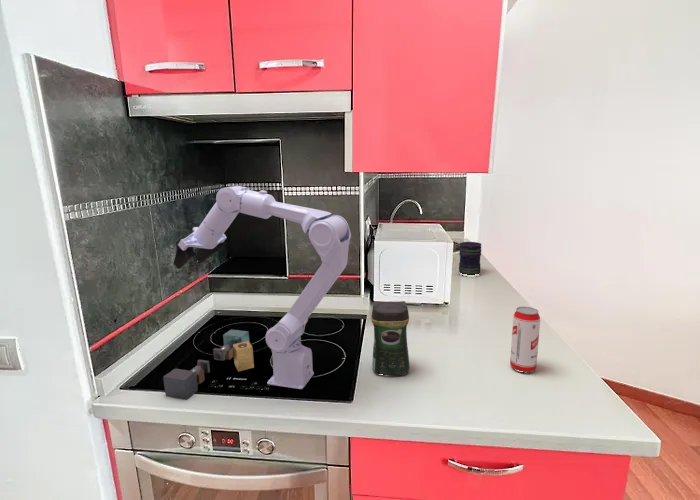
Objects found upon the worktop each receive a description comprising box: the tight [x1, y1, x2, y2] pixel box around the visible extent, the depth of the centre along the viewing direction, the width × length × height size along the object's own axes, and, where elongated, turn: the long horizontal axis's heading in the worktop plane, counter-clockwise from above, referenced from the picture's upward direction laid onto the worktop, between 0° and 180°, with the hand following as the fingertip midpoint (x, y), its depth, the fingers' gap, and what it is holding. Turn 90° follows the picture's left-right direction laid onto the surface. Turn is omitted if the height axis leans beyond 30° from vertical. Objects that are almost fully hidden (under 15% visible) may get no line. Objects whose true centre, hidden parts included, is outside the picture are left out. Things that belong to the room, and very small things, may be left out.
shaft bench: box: [162, 329, 250, 401], centre depth 106 cm, size 6×28×5 cm, turn 163°
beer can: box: [509, 306, 541, 373], centre depth 102 cm, size 6×6×16 cm
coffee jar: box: [370, 300, 410, 376], centre depth 102 cm, size 10×8×19 cm
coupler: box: [233, 340, 255, 372], centre depth 107 cm, size 4×4×6 cm
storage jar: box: [458, 241, 482, 275], centre depth 188 cm, size 10×10×15 cm
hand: (188, 262), depth 103 cm, fingers open, 7 cm apart
